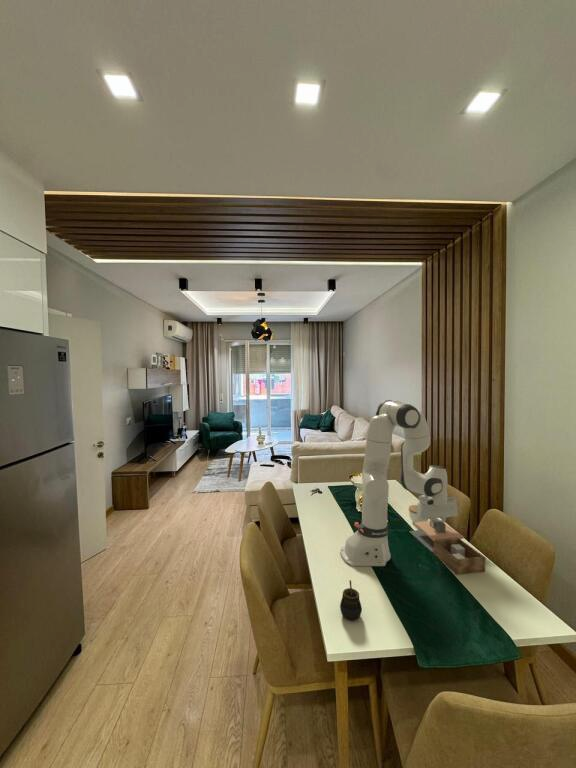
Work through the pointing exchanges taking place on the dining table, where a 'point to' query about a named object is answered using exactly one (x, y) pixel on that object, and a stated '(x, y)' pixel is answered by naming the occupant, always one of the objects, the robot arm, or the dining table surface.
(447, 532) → the lid
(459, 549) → the grey block
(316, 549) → the dining table surface
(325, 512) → the dining table surface
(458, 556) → the cream block
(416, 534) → the rubber mat
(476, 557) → the walnut box
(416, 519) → the lidded jar
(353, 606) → the mate gourd
